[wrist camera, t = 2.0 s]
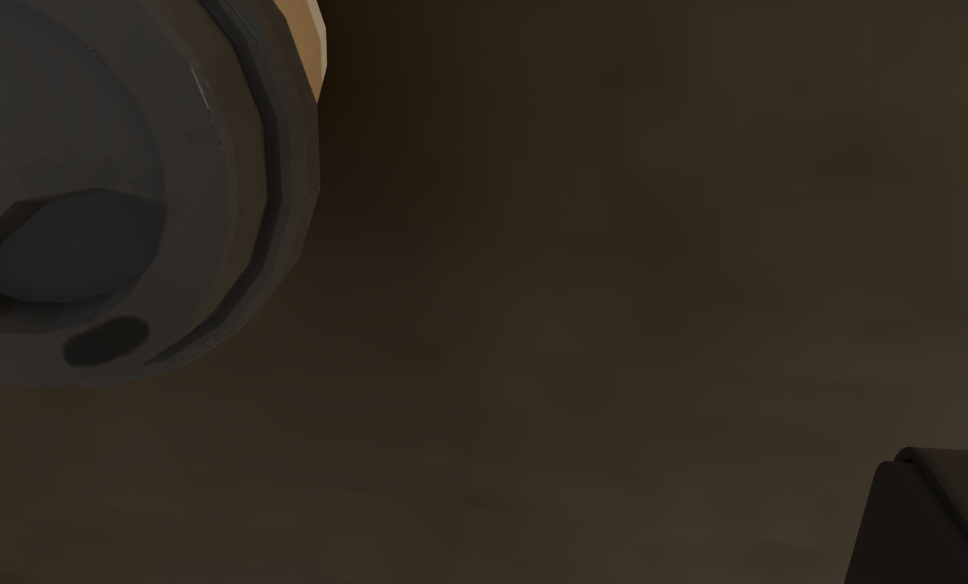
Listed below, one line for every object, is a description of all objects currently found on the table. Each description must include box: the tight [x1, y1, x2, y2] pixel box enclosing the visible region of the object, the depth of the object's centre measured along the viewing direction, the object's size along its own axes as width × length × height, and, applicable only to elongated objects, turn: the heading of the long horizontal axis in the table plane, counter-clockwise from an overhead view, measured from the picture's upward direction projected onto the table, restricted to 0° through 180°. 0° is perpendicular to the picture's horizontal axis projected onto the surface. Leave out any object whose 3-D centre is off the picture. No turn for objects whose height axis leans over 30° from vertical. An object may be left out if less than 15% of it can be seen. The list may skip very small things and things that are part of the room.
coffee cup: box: [0, 0, 327, 388], centre depth 23 cm, size 11×11×15 cm
